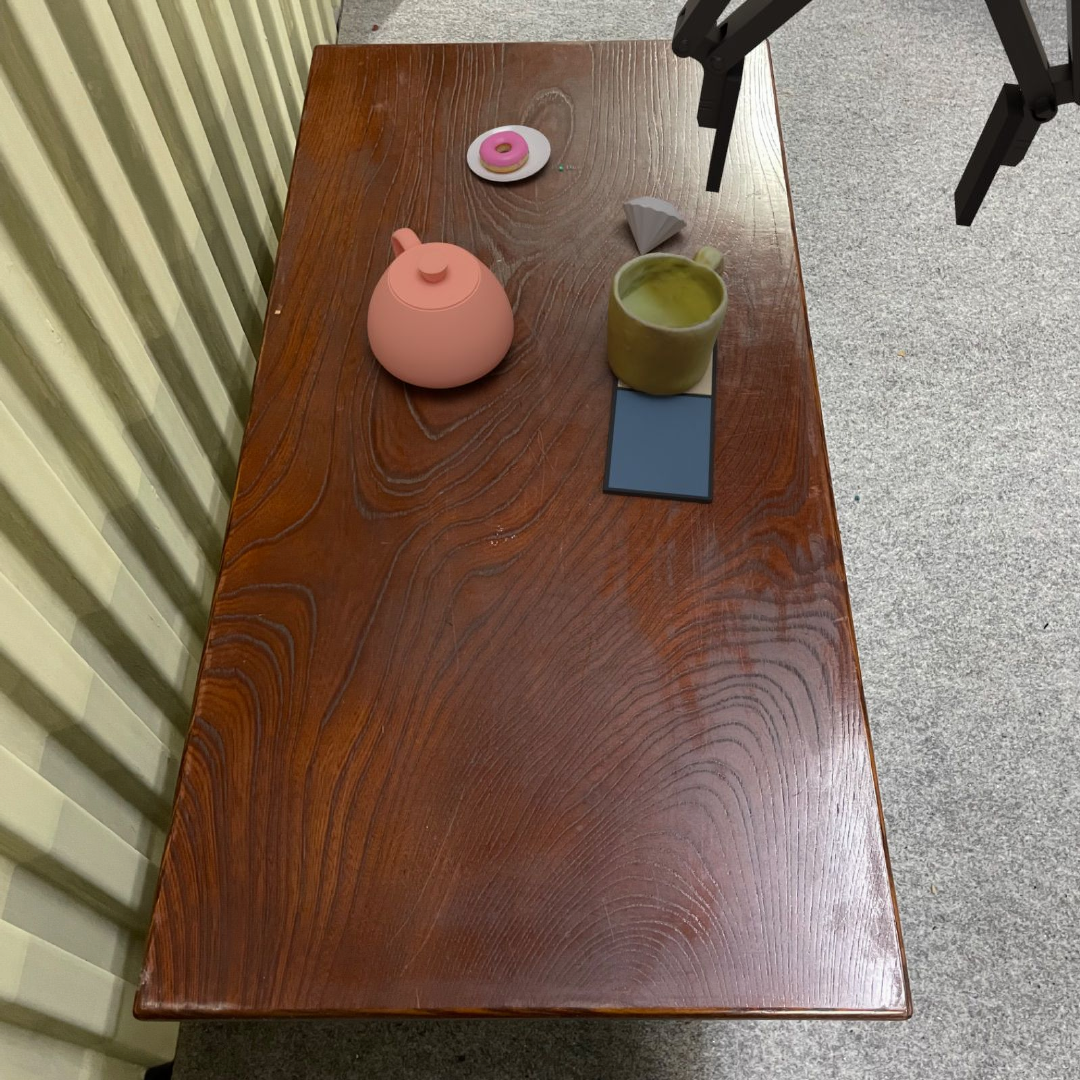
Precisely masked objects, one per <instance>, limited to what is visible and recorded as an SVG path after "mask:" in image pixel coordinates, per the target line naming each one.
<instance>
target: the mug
mask: <svg viewBox="0 0 1080 1080" xmlns="http://www.w3.org/2000/svg"><path fill="white" fill-rule="evenodd" d="M725 266H726V265H725V255H723V253H722V251H720V250H718V249H716V248H714V247H713V246H711V245H706V246H703V247H701V248H700V249H698V251H697V252H695V254H694V256H693V258H692V259H691V258H689V257H687V256H685V255H682V254H676V253H670V252H651V253H646V254H644V255H642V256H641V255H639V256H637V257H634V258H632V259H630V260H629V261H626V262H625V263H623V264H622V265H621V266H620V267H619V268H618V269H617V270H616V272H615V274H614V276H613V279H612V281H611V285H610V291H609V300H608V306H607V316H606V317H607V319H606V354H607V355H606V356H607V360H608V363H609V366H610V369H611V370H612V372H613V374H614V373H615V375H616V376H617V378H618V379H619V380H620V381H621V382H623V383H624V384H626V385H628V386H629V387H630V388H632V389H634V390H636V391H643V392H646V393H649V394H652V395H675V394H681V393H683V392H686V391H688V390H689V389H690V388H691V387H693V386H694V385H695V384H696V383H697V382H699V380H700V379H701V378H702V377H703V375H704V374H705V372H706V371H707V368H708V366H709V363H710V360H711V354H712V350H713V346H714V344H715V341H716V338H717V335H718V336H719V332H720V330H721V328H722V325H723V323H724V320H725V318H726V314H727V310H728V306H729V298H728V291H727V290H728V289H727V285H726V283H725V281H724V279H723V278H722V277H723V275H724V273H725V268H726V267H725ZM717 339H718V338H717Z"/></svg>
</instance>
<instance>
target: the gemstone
mask: <svg viewBox="0 0 1080 1080" xmlns="http://www.w3.org/2000/svg"><path fill="white" fill-rule="evenodd" d="M621 206H622V209H623V212H624V214H625V217H626V220H627V222H628V225H629V228H630V230H631V233H632V236H633V238H634V241H635V244H636V246H637V249H638V251H639V254H640V256H642V255H645V254H648V253H649V252H650V251H651V250H654V249H655V248H656V247H658V246H659V245H661V244H662V243H663V242H665V241H666V240H668V239H670V238H671V237H672V236H673V235H675V234H677V233H678V232H680V231H681V230H683V229H684V228H686V227H687V225H688V223H687V221H686V219H685V218H684V217H683V215H682V214H681V213H680V212H679V210H678V209H677V208H676V206H675V205H674V204H672V203H671V202H668V201H666V200H664V199H660V198H656V197H653V196H647V195H644V196H643V195H642V196H639V197H637V198H634V199H631V200H628V201H626V202H623V203H622V205H621Z"/></svg>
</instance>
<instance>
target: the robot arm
mask: <svg viewBox="0 0 1080 1080" xmlns="http://www.w3.org/2000/svg"><path fill="white" fill-rule="evenodd" d="M731 1H732V0H687V1H686V2H685V3H684V5H683V7H682V8H681V10H680V11H679V13H678V14H677V16H676V21H675V26H674V30H673V35H672V40H671V46H670V47H671V51H672V53H673V55H675V56H676V57H677V58H680V59H687V58H691V59H693V60H695V61H697V62H698V63H699V64H700V65H701V67H702V71H703V77H702V83H701V88H700V94H699V101H698V107H697V113H696V121H697V125H698V128H705V129H712V130H715V132H714V138H713V142H712V147H711V155H710V160H709V164H708V170H707V171H708V172H707V179H706V184H705V189H704V191H705V192H708V193H716V194H719V193H720V189H721V184H722V179H723V174H724V170H725V165H726V160H727V156H728V150H729V146H730V141H731V136H732V131H733V126H734V122H735V121H734V120H735V116H736V111H737V107H738V103H739V102H738V101H739V97H740V92H741V87H742V82H743V75H744V68H745V61H746V56H748V55H749V54H750V53H752V51H753V50H755V49H756V48H757V47H758V46H760V44H762V43H763V42H764V41H766V40H767V39H768V38H769V37H770V36H772V35H773V34H774V33H775V32H776V31H777V30H778V29H780V28H781V27H782V26H784V25H785V24H786V23H787V22H788V21H789V20H791V19H792V18H793V17H794V16H796V15H797V14H798V13H799V12H800V11H801V10H803V9H804V8H806V6H808V5H809V4H810V3H811V2H813V0H745V1H744V2H743V3H741V4H740V5H739V6H738V7H737V8H735V10H733V11H732V12H731V13H730V14H728V16H726V18H724V19H723V20H722V21H721V22H720V23H719V24H718V20H719V19H720V18H721V17H720V16H721V15H722V14H723V13H724V11H725V10H726V8H727V7H728V5H729V4H730V3H731ZM983 1H984V2H985V5H986V8H987V10H988V13H989V15H990V17H991V20H992V22H993V24H994V27H995V30H996V32H997V35H998V37H999V40H1000V42H1001V44H1002V47H1003V49H1004V52H1005V54H1006V57H1007V59H1008V62H1009V63H1010V67H1011V69H1012V71H1013V74H1014V76H1015V79H1016V82H1017V83H1011V82H1009V83H1008V82H1004V83H1003V85H1002V87H1001V88H1000V91H999V93H998V96H997V97H996V100H995V102H994V105H993V106H992V109H991V110H990V113H989V115H988V117H987V120H986V122H985V124H984V126H983V129H982V131H981V133H980V135H979V137H978V140H977V142H976V144H975V146H974V149H973V151H972V153H971V155H970V157H969V160H968V161H967V164H966V166H965V168H964V170H963V172H962V175H961V176H960V179H959V181H958V184H957V186H956V188H955V189H954V193H953V201H954V213H955V215H954V217H955V226H962V227H968V228H970V227H971V226H972V224H973V223H974V221H975V218H976V216H977V214H978V212H979V210H980V208H981V206H982V204H983V202H984V200H985V197H986V196H987V193H988V192H989V189H990V187H991V186H992V184H993V181H994V179H995V177H996V175H997V174H998V171H999V170H1000V167H1001V166H1003V167H1011V168H1016V167H1017V166H1018V165H1019V164H1020V163H1021V162H1022V161H1023V160H1024V159H1025V157H1026V155H1027V153H1028V151H1029V149H1030V147H1031V145H1032V144H1033V142H1034V139H1035V137H1036V135H1037V133H1038V131H1039V129H1040V128H1041V126H1042V125H1043V124H1046V123H1049V122H1050V121H1052V120H1053V119H1054V118H1056V116H1057V114H1058V112H1059V106H1061V105H1068V104H1073V103H1074V104H1075V105H1077V106H1078V107H1080V0H1065V8H1066V9H1065V10H1066V47H1067V63H1062V64H1057V65H1051V64H1050V61H1049V58H1048V56H1047V53H1046V51H1045V48H1044V45H1043V43H1042V40H1041V37H1040V35H1039V32H1038V30H1037V27H1036V24H1035V21H1034V18H1033V15H1032V13H1031V11H1030V8H1029V5H1028V3H1027V0H983Z"/></svg>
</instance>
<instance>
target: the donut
mask: <svg viewBox="0 0 1080 1080" xmlns="http://www.w3.org/2000/svg"><path fill="white" fill-rule="evenodd" d="M548 139H549V138H547V136H545V135H544V134H543V133H542V132H540V131H539V130H537V129H535V128H533V127H529V126H526V125H517V124H512V125H503V126H498V127H495V128H491V129H490V130H487V131H485V132H483V133H481V134H480V135H478V136H477V137H476V138H475V139H474V141H472V142H471V144H470V145H469V147H468V149H467V153H466V161H467V164H468V167H469V168H470V170H472V172H473V173H475V174H476V175H477V176H479V177H481V178H483V179H485V180H489V181H494V182H513V181H519V180H523V179H525V178H528V177H530V176H533V175H534V174H536V173H537V172H539V171H540V170H541V169H542V168H543V167H544V166H545V165H546V164H547V162H548V161H549V159H550V156H551V150H552V149H551V144H550V141H549V140H548ZM577 166H578V167H577ZM577 166H575V168H574V165H573V166H572V164H571V165H569V166H568V165H566V170H568V168H569V169H570V170H571V169H572V170H574V169H575V170H576V169H577V168H578V169H580V166H579V165H577ZM558 170H559V171H562V170H563V167H562V166H559V167H558Z"/></svg>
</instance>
